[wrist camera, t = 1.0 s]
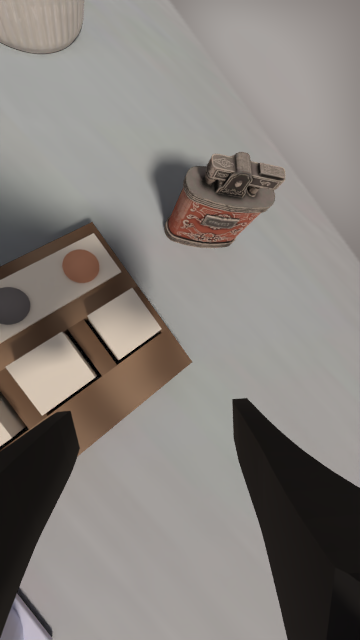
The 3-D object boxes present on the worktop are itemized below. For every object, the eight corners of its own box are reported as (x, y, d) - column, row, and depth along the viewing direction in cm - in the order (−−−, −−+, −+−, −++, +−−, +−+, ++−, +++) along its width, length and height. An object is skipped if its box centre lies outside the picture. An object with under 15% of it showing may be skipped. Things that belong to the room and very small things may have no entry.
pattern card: (-103, 404, 15) (-108, 405, 15) (-143, 353, 15) (-149, 353, 15) (121, 272, 21) (121, 270, 21) (93, 234, 21) (93, 231, 20)
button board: (0, 510, 18) (-16, 532, 16) (-126, 347, 17) (-162, 345, 15) (183, 361, 24) (192, 361, 21) (93, 236, 23) (92, 222, 21)
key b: (52, 407, 19) (42, 415, 16) (20, 365, 19) (5, 366, 16) (97, 374, 20) (95, 377, 17) (68, 335, 20) (61, 331, 17)
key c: (117, 360, 21) (119, 360, 18) (89, 322, 20) (86, 315, 18) (154, 333, 22) (161, 329, 19) (128, 297, 22) (132, 287, 19)
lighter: (164, 244, 25) (198, 174, 16) (163, 214, 26) (196, 129, 16) (233, 251, 28) (299, 193, 18) (231, 223, 28) (294, 154, 19)
